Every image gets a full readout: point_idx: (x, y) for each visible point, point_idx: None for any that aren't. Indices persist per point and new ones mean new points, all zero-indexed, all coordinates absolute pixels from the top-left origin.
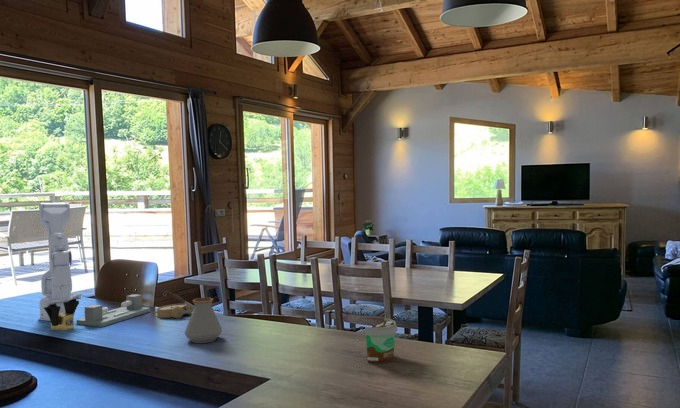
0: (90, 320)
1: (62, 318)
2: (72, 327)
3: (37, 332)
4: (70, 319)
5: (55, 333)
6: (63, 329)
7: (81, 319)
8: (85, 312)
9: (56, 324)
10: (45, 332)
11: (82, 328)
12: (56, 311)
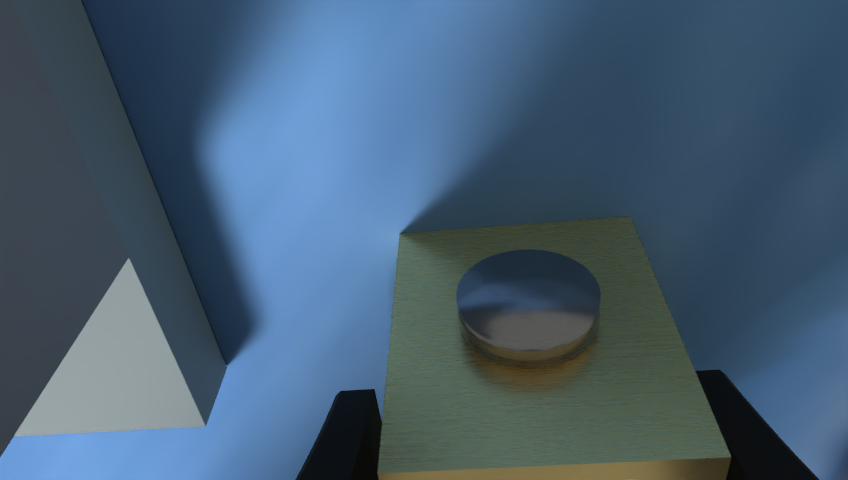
0: (46, 113)
1: (708, 434)
2: (424, 240)
3: (808, 455)
4: (476, 363)
5: (843, 189)
6: (635, 238)
7: (126, 392)
8: (16, 396)
9: (734, 391)
10: (794, 375)
11: (347, 20)
12: None
